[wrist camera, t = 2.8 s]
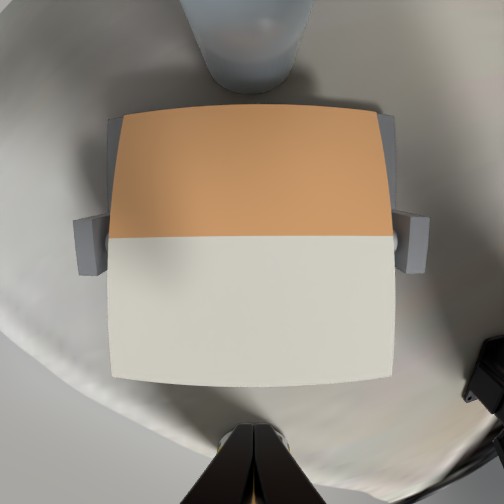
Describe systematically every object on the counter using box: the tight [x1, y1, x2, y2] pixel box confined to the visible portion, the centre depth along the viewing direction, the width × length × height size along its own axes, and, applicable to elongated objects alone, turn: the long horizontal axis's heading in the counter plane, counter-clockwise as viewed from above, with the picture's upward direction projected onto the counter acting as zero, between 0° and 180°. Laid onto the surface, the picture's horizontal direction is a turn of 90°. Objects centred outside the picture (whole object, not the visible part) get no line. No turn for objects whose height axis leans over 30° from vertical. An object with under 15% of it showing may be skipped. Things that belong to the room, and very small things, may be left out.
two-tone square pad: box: [105, 104, 398, 387], centre depth 12 cm, size 12×11×2 cm
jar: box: [179, 0, 315, 94], centre depth 9 cm, size 5×5×11 cm
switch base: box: [73, 114, 430, 276], centre depth 14 cm, size 16×13×6 cm
